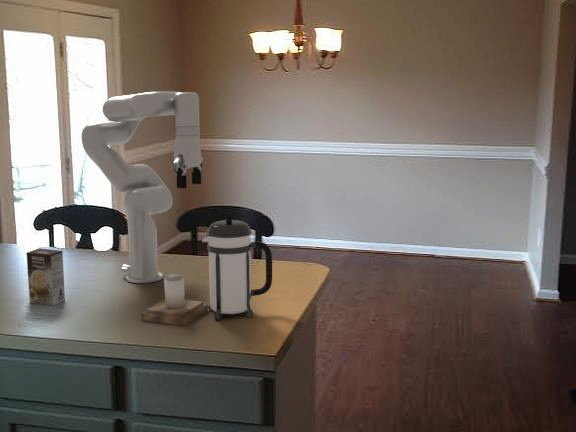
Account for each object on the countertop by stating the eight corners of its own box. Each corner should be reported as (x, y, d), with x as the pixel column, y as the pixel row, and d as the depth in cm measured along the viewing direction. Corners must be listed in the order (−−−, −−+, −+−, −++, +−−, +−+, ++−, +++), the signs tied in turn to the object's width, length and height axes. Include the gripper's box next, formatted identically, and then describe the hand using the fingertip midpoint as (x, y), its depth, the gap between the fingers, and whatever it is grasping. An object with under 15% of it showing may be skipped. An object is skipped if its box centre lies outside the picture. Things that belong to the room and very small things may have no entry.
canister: (161, 306, 200) (160, 277, 198) (172, 301, 205) (170, 272, 203) (178, 309, 198) (176, 279, 196) (188, 303, 203) (187, 274, 201)
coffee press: (238, 325, 193) (237, 219, 187) (194, 315, 201) (191, 214, 196) (273, 309, 207) (273, 210, 202) (231, 300, 216) (229, 205, 210)
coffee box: (28, 303, 214) (24, 252, 211) (42, 297, 220) (38, 247, 217) (53, 306, 211) (49, 254, 208) (66, 300, 217) (63, 250, 214)
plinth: (141, 320, 198) (140, 310, 197) (166, 305, 211) (166, 296, 210) (184, 325, 193) (184, 315, 192) (207, 310, 206) (207, 301, 205)
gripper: (190, 130, 228) (192, 182, 231) (163, 133, 212) (165, 189, 215) (211, 130, 225) (212, 183, 228) (184, 134, 209) (186, 190, 212)
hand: (189, 186), depth 221 cm, fingers open, 9 cm apart
